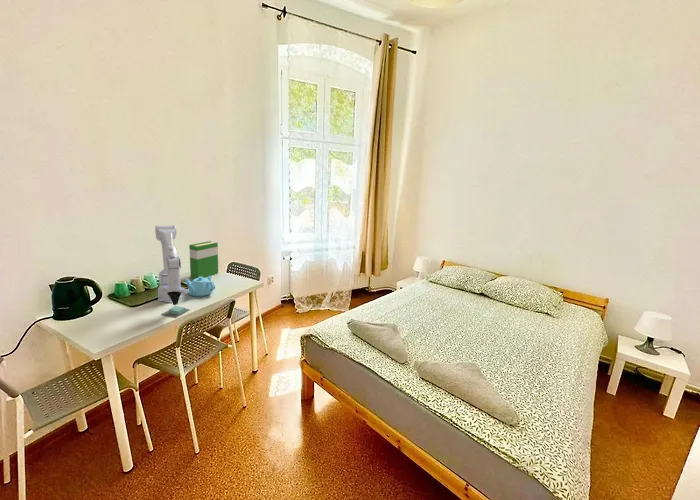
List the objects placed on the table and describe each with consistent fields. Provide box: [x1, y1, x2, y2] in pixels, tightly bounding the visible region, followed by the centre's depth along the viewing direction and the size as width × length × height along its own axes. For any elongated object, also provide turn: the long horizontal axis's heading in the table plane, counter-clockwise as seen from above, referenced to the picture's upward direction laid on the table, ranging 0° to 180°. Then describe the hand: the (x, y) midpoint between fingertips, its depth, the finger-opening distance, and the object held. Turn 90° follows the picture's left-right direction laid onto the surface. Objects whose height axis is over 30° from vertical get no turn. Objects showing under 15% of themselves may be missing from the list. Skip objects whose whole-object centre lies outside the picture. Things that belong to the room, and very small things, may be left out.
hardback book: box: [188, 240, 219, 280], centre depth 225 cm, size 18×7×24 cm, turn 155°
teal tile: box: [168, 305, 186, 315], centre depth 168 cm, size 2×5×6 cm
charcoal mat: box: [160, 308, 190, 318], centre depth 169 cm, size 9×10×1 cm
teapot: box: [184, 276, 216, 298], centre depth 195 cm, size 15×15×11 cm
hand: (175, 304), depth 168 cm, fingers closed
